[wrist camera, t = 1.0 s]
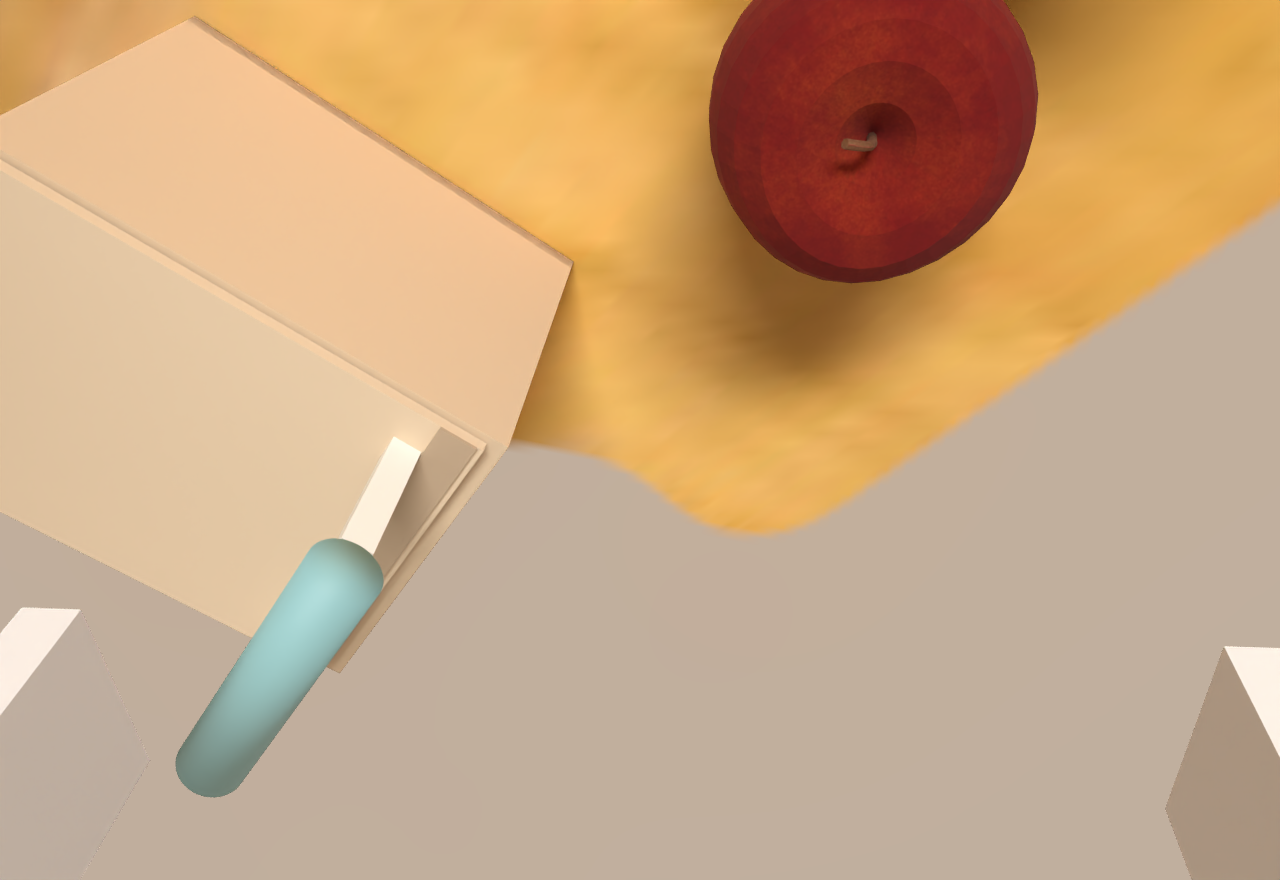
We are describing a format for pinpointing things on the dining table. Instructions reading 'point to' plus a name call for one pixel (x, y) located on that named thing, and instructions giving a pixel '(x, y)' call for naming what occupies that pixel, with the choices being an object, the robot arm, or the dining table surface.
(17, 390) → the flap
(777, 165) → the apple
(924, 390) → the dining table surface
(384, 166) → the carton
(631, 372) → the dining table surface
